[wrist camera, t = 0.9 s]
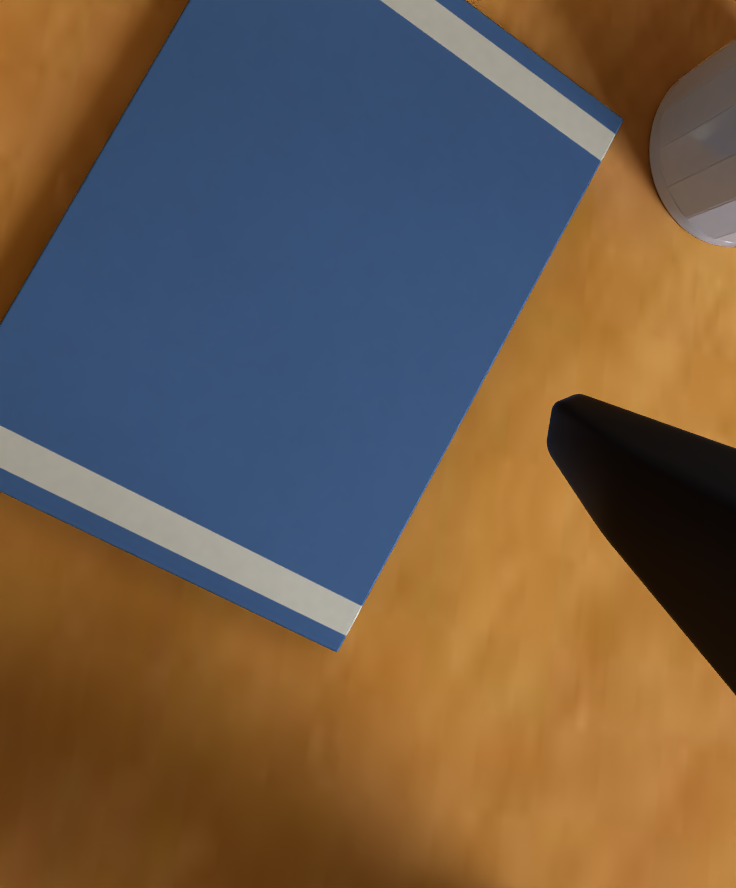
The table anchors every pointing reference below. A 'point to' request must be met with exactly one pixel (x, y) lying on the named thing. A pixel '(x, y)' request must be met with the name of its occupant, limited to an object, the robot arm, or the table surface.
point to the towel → (289, 290)
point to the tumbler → (699, 149)
